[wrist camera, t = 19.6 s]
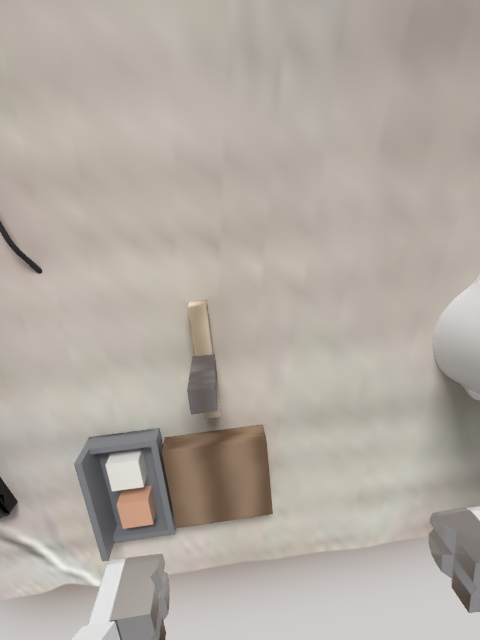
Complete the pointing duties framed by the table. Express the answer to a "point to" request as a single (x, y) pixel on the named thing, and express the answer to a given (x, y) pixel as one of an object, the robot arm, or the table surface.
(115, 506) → the box
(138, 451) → the tile
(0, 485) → the portable electronic device stand
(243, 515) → the brown square slab
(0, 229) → the glasses
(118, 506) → the tile
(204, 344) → the grey block with handle
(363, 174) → the table surface
